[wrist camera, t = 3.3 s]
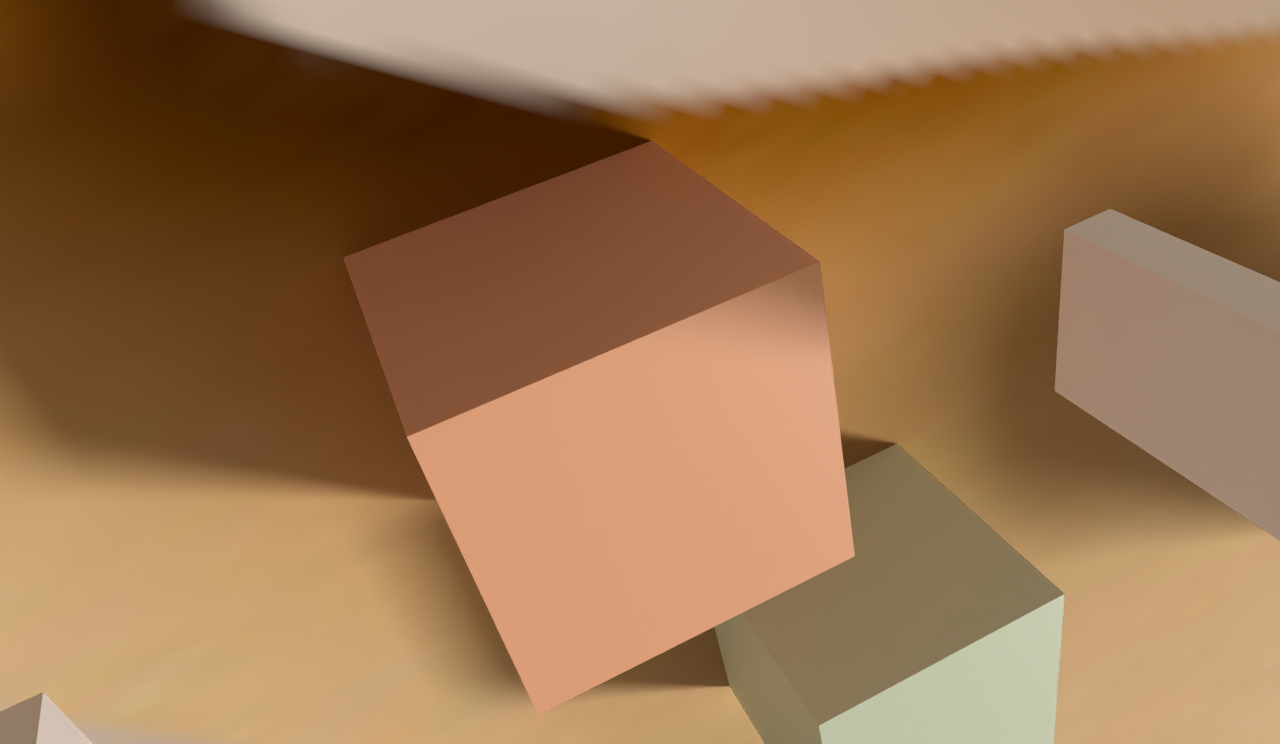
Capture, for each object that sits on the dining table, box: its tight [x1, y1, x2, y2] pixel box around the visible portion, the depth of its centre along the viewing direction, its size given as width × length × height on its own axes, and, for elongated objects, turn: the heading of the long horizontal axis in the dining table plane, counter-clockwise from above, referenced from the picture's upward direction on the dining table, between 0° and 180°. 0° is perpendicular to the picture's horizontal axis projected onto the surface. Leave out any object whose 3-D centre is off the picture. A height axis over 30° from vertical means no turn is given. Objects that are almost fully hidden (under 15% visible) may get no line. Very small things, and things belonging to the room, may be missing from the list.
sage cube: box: [714, 444, 1065, 744], centre depth 20 cm, size 5×5×5 cm
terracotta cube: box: [343, 141, 855, 715], centre depth 14 cm, size 5×5×5 cm
